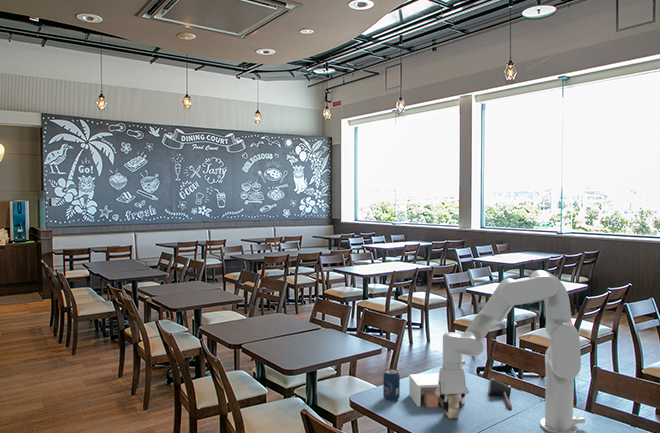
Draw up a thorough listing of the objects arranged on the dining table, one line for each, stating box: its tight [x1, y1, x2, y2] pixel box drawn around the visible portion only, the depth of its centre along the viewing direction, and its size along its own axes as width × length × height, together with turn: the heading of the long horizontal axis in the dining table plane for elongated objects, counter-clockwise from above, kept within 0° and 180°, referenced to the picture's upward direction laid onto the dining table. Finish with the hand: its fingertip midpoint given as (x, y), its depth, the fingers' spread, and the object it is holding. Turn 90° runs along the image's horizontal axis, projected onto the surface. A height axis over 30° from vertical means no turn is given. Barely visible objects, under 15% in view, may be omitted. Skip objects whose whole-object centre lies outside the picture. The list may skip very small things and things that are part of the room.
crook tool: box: [438, 394, 460, 419], centre depth 196 cm, size 7×17×9 cm, turn 7°
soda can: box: [382, 368, 401, 402], centre depth 206 cm, size 7×7×12 cm
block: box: [423, 392, 439, 408], centre depth 201 cm, size 4×4×4 cm
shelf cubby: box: [408, 372, 466, 408], centre depth 206 cm, size 20×12×9 cm, turn 97°
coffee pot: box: [487, 377, 513, 411], centre depth 206 cm, size 8×18×8 cm
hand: (451, 409), depth 190 cm, fingers closed on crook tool, 4 cm apart
